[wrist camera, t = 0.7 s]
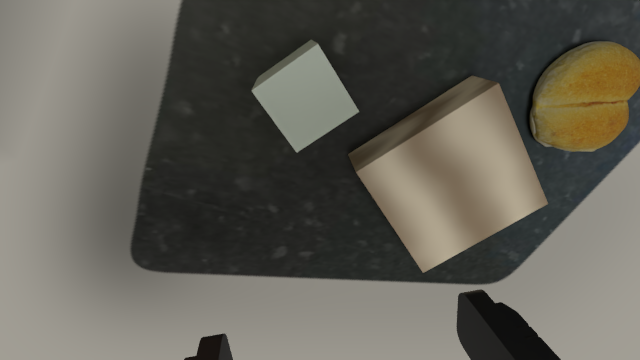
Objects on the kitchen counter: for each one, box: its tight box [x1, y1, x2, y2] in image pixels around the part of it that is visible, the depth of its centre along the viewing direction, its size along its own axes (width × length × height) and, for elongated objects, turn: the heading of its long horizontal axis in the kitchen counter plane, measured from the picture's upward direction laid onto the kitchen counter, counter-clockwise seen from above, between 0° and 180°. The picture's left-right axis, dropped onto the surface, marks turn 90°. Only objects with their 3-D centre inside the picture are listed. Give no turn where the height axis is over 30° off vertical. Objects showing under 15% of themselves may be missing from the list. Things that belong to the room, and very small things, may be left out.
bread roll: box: [530, 41, 640, 152], centre depth 29 cm, size 8×9×4 cm
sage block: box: [251, 40, 359, 152], centre depth 25 cm, size 5×5×6 cm
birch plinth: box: [348, 76, 548, 273], centre depth 30 cm, size 12×12×4 cm
